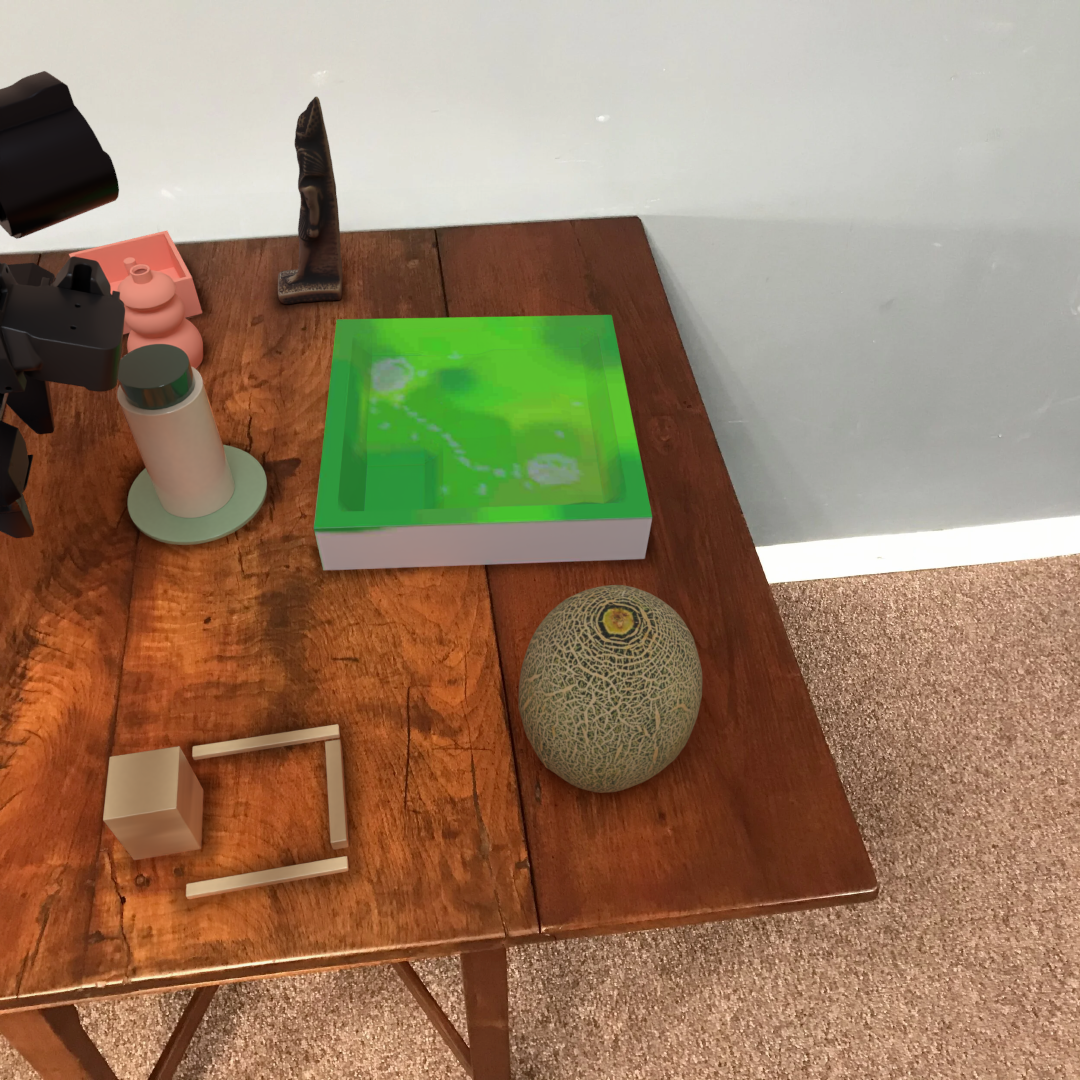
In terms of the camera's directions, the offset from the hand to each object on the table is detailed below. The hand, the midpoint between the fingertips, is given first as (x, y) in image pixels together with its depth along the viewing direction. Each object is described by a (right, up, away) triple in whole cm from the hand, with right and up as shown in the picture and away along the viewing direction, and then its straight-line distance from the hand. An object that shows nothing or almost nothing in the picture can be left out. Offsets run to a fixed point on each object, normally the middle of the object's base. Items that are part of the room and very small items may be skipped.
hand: (36, 481), depth 60 cm
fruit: (+36, -18, +4) cm, 40 cm away
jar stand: (+13, -21, 0) cm, 25 cm away
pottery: (-5, +17, +31) cm, 36 cm away
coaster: (+4, 0, +17) cm, 18 cm away
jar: (0, +1, +15) cm, 15 cm away
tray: (+27, +4, +22) cm, 35 cm away
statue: (+9, +21, +36) cm, 43 cm away
